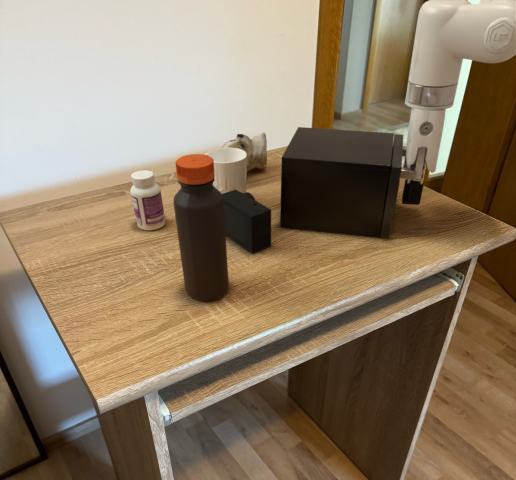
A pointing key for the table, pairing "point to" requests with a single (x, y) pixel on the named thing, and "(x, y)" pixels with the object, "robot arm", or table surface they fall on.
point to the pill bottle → (147, 201)
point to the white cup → (229, 169)
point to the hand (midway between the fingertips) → (410, 202)
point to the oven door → (395, 183)
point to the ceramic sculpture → (251, 149)
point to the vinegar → (201, 228)
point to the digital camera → (247, 221)
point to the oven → (335, 181)
